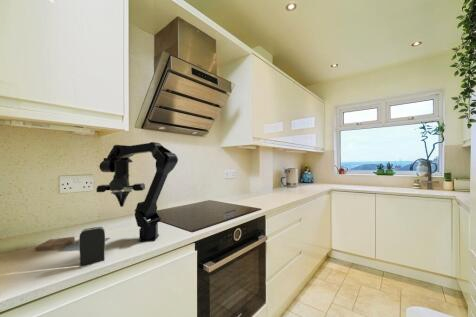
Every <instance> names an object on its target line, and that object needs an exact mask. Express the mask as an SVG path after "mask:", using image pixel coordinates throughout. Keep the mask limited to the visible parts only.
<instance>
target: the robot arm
mask: <svg viewBox="0 0 476 317" xmlns="http://www.w3.org/2000/svg"><path fill="white" fill-rule="evenodd" d="M147 153H151V156H152V158H153V159H154V160H155V171H156V172H155V174H154V176H153V178H152V182H150V183H151V184H150V186H149V189H148V191H147V194H146V197H145V198H144V201H140V202H138V203H137V205H136V208H135V209H134V218H135V221H136V225H137V227H139V231H138V232H139V233H138V234H139V240H138V241H139V242H151V241H152V242H153V241H156V240H157V239H158V237H159V236H160V234H159V230H158V228H159V223H161V220H162V217H161V216H160V214H159V213H158V212H157V210H158V205H157V202H158V200H159V197H160V195H161V192H162V190H163V187H164V184H165V183H166V180H167V177H168V176H169V174H170V173H171V172H172V170H174V169H175V167H176V166H177V164H178V162H179V158H178V155H176V153H174V152H172V151H171V150H170V149H168V148H166V147H165V146H163V145H162V144H161V143H159V142H155V141H152V142H151V141H150V142H147V143H140V144H133V145H123V144H115V145H113V147H112V149H111V150H110V152H109V153H108V155H107V157H104V158H103V160H102V161H101V162H100V163H99V166H98V167H99V170H100V171H101V173H102V172H103V173H114V175H113V177H112V180H111V181H110V182H109V183H108V184H100V185H98V186H96V190H95V191H96V193H104V192H106V191H111V193H110V194H112V195H114V196H115V197H116V200H117V202H118V203H119V206H120V207H121V208H122V207H124V206H125V202H126V200H127V198H128V195H130V193H132V192H133V191H135V192H138V191H139V192H143V191H145V189H146V184H144V182H143V183H140V182H139V183H134V184H133V185H132V184H131V185H130V174H129V173H130V169H129V168H130V163H133V160H132V159H131V157H133V156H134V155H137V154H139V155H140V154H147Z"/></svg>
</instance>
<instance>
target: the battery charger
mask: <svg viewBox="0 0 476 317" xmlns="http://www.w3.org/2000/svg"><path fill="white" fill-rule="evenodd" d="M78 237H79V238H78V239H79V267H85V266H89V265H93V264H96V263H102V262H104V261H105V258H106V257H105V250H106V247H105V246H106V242H105V238H106V232H105V229H104V227H103V226H95V227H89V228H84V229H83V230H82V231H81V232H80V233H79V236H78Z"/></svg>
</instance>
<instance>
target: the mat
mask: <svg viewBox="0 0 476 317" xmlns="http://www.w3.org/2000/svg"><path fill="white" fill-rule="evenodd" d="M110 239H111V237H105V243H106V242H107V241H108V240H110ZM76 251H79V238H78V239H77V240H75V241H74V242H72V243H71V244H69V245H68V246H66V247H65V248H63V249H58V250H57V252H76Z"/></svg>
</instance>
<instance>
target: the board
mask: <svg viewBox="0 0 476 317" xmlns="http://www.w3.org/2000/svg"><path fill="white" fill-rule="evenodd" d="M75 237H76V236H68V237H60V238H58V237H57V238H51V239H48V240H46V241H44V242H42V243H40V244H39V245H37V246H35V247H34V251H35V252H42V251H53V250H61V249H63V248H65V247H66V246H68V245H69V244H71V243H73V242H75V241H76V239H75Z"/></svg>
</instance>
